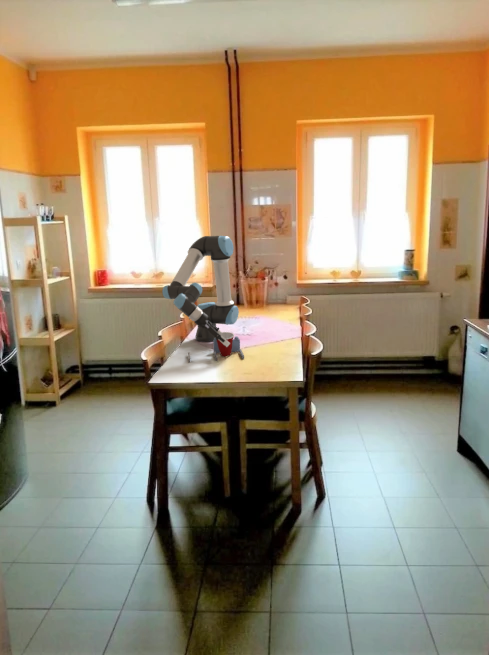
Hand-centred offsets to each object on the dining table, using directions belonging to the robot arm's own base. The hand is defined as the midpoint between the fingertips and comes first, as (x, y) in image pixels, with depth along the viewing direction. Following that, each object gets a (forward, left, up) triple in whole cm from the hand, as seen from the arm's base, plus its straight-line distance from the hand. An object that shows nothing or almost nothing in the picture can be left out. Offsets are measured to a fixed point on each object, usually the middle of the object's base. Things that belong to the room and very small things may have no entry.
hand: (227, 342), depth 275 cm
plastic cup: (-3, -1, -8) cm, 9 cm away
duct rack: (-2, -7, -8) cm, 11 cm away
